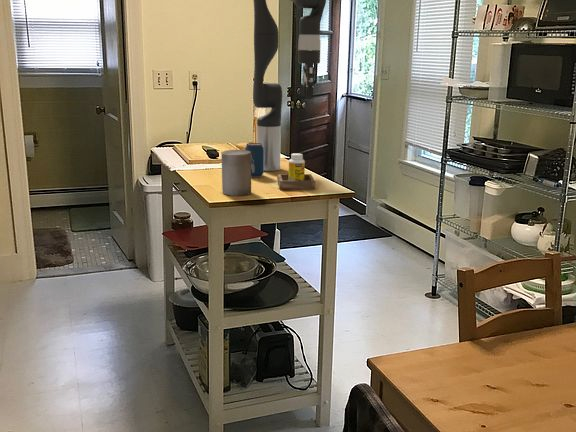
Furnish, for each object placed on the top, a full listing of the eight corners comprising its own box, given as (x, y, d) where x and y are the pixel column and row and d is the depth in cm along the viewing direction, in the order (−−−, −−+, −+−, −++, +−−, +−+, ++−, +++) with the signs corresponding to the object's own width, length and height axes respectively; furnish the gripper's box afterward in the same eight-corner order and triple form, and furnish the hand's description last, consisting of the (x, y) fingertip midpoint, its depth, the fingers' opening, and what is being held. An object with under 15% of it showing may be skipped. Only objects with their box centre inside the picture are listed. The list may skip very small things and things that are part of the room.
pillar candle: (251, 189, 213) (251, 145, 210) (251, 196, 204) (250, 150, 200) (223, 189, 213) (221, 145, 209) (221, 196, 204) (219, 150, 200)
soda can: (261, 173, 240) (261, 142, 237) (265, 177, 234) (265, 145, 231) (243, 174, 239) (243, 142, 236) (246, 178, 232) (246, 145, 229)
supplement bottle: (294, 185, 216) (294, 156, 213) (285, 182, 221) (285, 153, 218) (307, 183, 219) (308, 154, 216) (298, 180, 224) (299, 152, 221)
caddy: (277, 182, 225) (277, 174, 225) (310, 182, 226) (311, 174, 225) (279, 189, 214) (280, 181, 213) (315, 189, 215) (315, 181, 214)
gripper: (296, 48, 219) (295, 96, 223) (300, 48, 205) (299, 99, 209) (317, 49, 219) (316, 96, 224) (323, 49, 206) (321, 99, 210)
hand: (308, 97), depth 216 cm, fingers open, 8 cm apart
